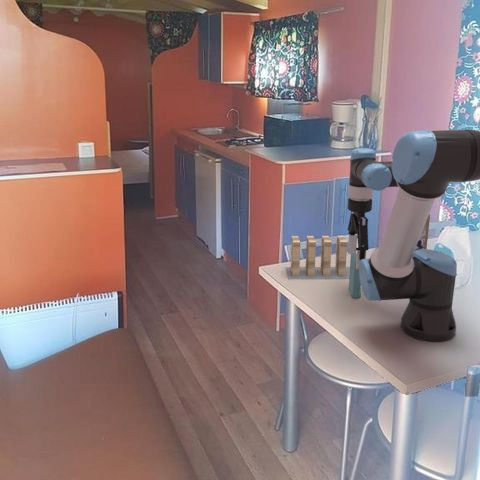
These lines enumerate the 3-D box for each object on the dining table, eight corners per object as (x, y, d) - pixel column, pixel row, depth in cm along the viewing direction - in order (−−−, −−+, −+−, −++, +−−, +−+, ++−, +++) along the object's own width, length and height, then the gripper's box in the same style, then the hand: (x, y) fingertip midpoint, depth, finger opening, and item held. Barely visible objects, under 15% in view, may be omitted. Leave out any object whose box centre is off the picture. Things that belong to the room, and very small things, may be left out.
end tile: (360, 298, 183) (362, 260, 179) (352, 298, 183) (355, 260, 179) (355, 289, 190) (358, 253, 186) (348, 289, 190) (350, 253, 186)
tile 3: (329, 276, 200) (331, 241, 196) (323, 276, 200) (324, 242, 196) (326, 269, 207) (328, 235, 203) (320, 269, 207) (321, 235, 203)
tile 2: (314, 276, 200) (315, 242, 196) (307, 276, 200) (309, 242, 196) (312, 269, 207) (313, 236, 203) (305, 269, 207) (306, 236, 203)
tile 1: (299, 276, 200) (300, 242, 196) (292, 276, 200) (293, 242, 196) (297, 269, 207) (298, 236, 203) (290, 269, 207) (291, 236, 203)
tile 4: (345, 276, 200) (347, 241, 196) (338, 276, 200) (340, 241, 196) (341, 269, 207) (343, 235, 203) (335, 269, 207) (337, 235, 203)
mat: (378, 279, 198) (378, 278, 198) (288, 280, 198) (288, 279, 198) (370, 267, 210) (370, 266, 210) (285, 268, 209) (285, 267, 209)
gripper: (382, 208, 165) (376, 275, 172) (363, 188, 188) (359, 247, 195) (356, 208, 165) (352, 275, 172) (341, 188, 188) (337, 247, 195)
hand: (355, 260), depth 184 cm, fingers open, 13 cm apart
